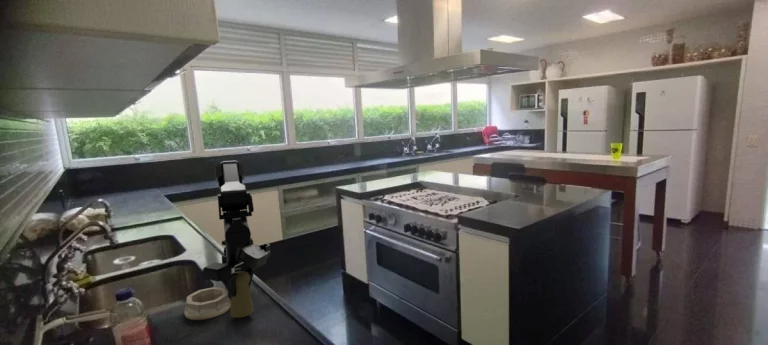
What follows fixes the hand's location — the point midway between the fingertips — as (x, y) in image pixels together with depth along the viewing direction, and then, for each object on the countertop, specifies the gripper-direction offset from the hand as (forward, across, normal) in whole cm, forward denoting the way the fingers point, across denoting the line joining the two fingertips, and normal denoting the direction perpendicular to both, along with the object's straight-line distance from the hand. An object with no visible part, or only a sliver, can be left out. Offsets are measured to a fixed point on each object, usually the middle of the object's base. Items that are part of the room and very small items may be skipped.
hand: (240, 292), depth 97 cm
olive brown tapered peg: (+6, 0, 0) cm, 6 cm away
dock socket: (+7, 0, +13) cm, 15 cm away
